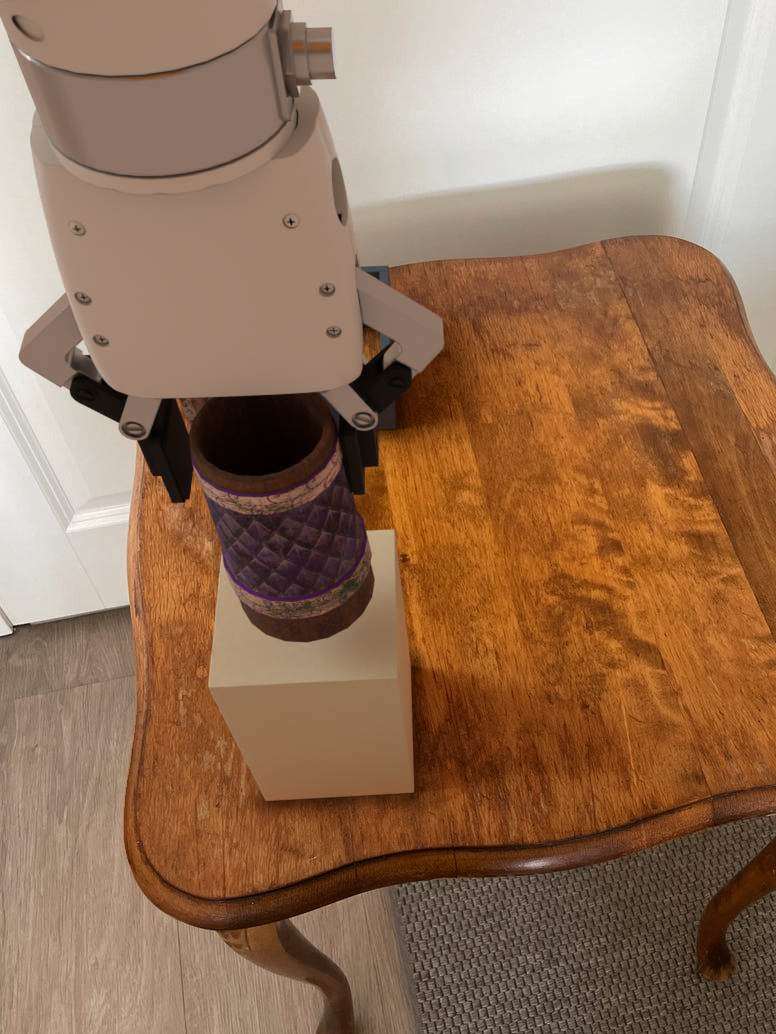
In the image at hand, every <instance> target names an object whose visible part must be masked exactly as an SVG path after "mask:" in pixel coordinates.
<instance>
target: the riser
mask: <svg viewBox="0 0 776 1034" xmlns="http://www.w3.org/2000/svg"><path fill="white" fill-rule="evenodd" d="M366 532H367V536H368V541H369V545H370V549H371V553H372V557H371V566H372V570H373V574H374V578H375V583H374V589H373V596H372V599H371V600H370V602H369V604H368V606H367V608H366V609H365V611H364V613H363V614H362V615H361V616H360V617H359V618H358V619H357V620H356V621H355V622H354V623H353V624H352V625H351V626H349V627H348V628H347V629H345V630H343V631H341V632H339V633H337V634H335V635H333V636H331V637H329V638H326V639H321V640H316V641H312V642H307V643H306V642H286V641H283V640H280V639H277V638H274V637H271V636H268V635H266V634H264V633H263V632H262V631H261V630H259V629H258V628H257V627H255V626H254V625H253V624H252V623H251V622H250V620H249V619H248V617H247V615H246V614H245V612H244V610H243V609H242V606H241V603H240V600H239V598H238V596H237V594H236V593H235V591H234V589H233V588H232V586H231V584H230V582H229V579H228V576H227V573H226V570H225V567H224V563H223V556H222V554H220V555H221V556H220V566H219V577H218V584H217V585H218V587H217V596H216V604H215V605H216V606H215V614H214V615H215V617H214V626H213V635H212V645H211V655H210V664H209V665H210V666H209V675H208V685H207V688H208V690H209V692H210V694H211V696H212V698H213V700H214V702H215V704H216V706H217V707H218V710H219V711H220V714H221V716H222V717H223V719H224V721H225V723H226V725H227V728H228V730H229V731H230V733H231V735H232V737H233V739H234V741H235V743H236V745H237V747H238V749H239V752H240V753H241V755H242V757H243V759H244V761H245V763H246V765H247V767H248V769H249V771H250V773H251V774H252V777H253V779H254V780H255V782H256V785H257V787H258V788H259V790H260V792H261V795H262V796H263V798H264V800H265V801H266V802H273V801H291V800H306V799H307V800H309V799H325V798H344V797H360V796H361V797H362V796H379V795H396V794H397V795H398V794H412V793H414V792H415V773H414V770H415V769H414V740H413V739H414V737H413V736H414V734H413V708H412V707H413V703H412V702H413V701H412V699H413V698H412V697H413V696H412V665H411V655H410V648H409V639H408V631H407V629H408V628H407V623H406V614H405V604H404V596H403V587H402V579H401V569H400V561H399V552H398V543H397V535H396V530H395V529H394V528H393V529H376V530H375V529H374V530H366Z"/></svg>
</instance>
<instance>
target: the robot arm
mask: <svg viewBox="0 0 776 1034" xmlns="http://www.w3.org/2000/svg"><path fill="white" fill-rule="evenodd" d="M0 20H1V22H2V25H3V27H4V30H5V31H6V34H7V37H8V40H9V43H10V45H11V48H12V50H13V54H14V57H15V59H16V61H17V64H18V66H19V68H20V69H19V70H20V71H21V74H22V76H23V79H24V81H25V84H26V86H27V89H28V91H29V93H30V96H31V99H32V102H33V103H34V107H35V110H34V112H33V116H32V122H31V123H32V124H31V125H32V126H31V130H30V135H29V143H30V151H31V157H32V163H33V167H34V168H33V169H34V173H35V178H36V184H37V188H38V189H37V190H38V193H39V198H40V203H41V206H42V210H43V215H44V218H45V223H46V227H47V231H48V235H49V239H50V243H51V246H52V250H53V254H54V258H55V261H56V265H57V268H58V271H59V272H58V273H59V275H60V278H61V281H62V285H63V287H64V291H65V292H64V293H63V294H62V295H61V296H60V297H59V298H58V299H57V300H56V301H55V302H54V303H53V304H52V305H51V306H50V307H49V308H48V309H47V310H46V311H44V312H43V313H42V315H41V316H40V317H39V318H38V319H37V320H36V321H34V322H33V324H31V325H30V326H29V328H27V329H26V330H25V332H24V334H23V338H22V341H21V345H20V349H19V353H18V360H19V361H20V363H21V364H22V365H23V366H25V367H26V368H27V369H29V370H31V371H32V372H34V373H36V374H38V375H39V376H41V378H44V379H46V380H47V381H49V382H51V383H52V384H54V385H55V386H56V387H59V388H62V387H64V389H67V390H69V395H70V396H71V398H72V399H73V400H74V401H75V402H76V403H78V404H80V405H82V406H84V407H85V408H88V409H89V410H92V411H95V412H96V413H98V414H100V415H102V416H104V417H105V418H108V419H110V420H112V421H114V422H116V423H118V428H117V429H118V431H119V433H120V434H121V435H122V436H123V437H125V438H126V439H129V440H131V441H137V444H138V446H139V448H140V451H141V453H142V455H143V457H144V460H145V462H146V464H147V467H148V469H149V472H150V473H151V475H152V477H161V480H162V483H163V485H164V487H165V490H166V493H167V494H168V496H169V498H170V501H171V503H172V504H185V503H186V502H187V500H190V499H191V493H192V485H193V476H194V468H193V465H192V459H191V451H190V441H189V431H188V429H187V426H186V422H185V420H184V418H183V415H182V412H181V410H180V407H179V404H178V401H177V399H179V398H199V397H227V396H251V395H273V394H292V393H308V392H319V393H320V394H321V395H322V396H323V397H324V398H325V399H326V400H327V401H328V402H329V403H330V404H331V405H332V406H333V407H334V408H335V410H336V411H337V412H338V413H339V439H340V445H341V451H342V456H343V463H344V468H345V474H346V478H347V481H348V485H349V489H350V492H353V496H364V495H366V468H379V466H380V455H379V454H380V453H379V449H380V448H379V437H378V430H377V429H376V425H377V424H378V415H379V414H380V413H381V412H382V411H384V410H385V409H386V408H387V407H388V406H389V405H391V404H392V403H393V402H394V401H395V402H396V401H397V400H398V399H399V398H400V397H402V396H403V395H405V393H407V391H409V390H410V389H411V388H412V385H413V379H414V378H415V377H416V376H417V375H418V374H421V373H422V372H423V371H424V370H425V369H426V368H427V367H428V366H429V365H430V364H431V362H432V361H434V360H435V358H436V357H437V356H438V355H439V354H440V353H441V352H442V351H443V349H444V348H445V331H444V321H443V319H442V317H441V316H440V315H438V314H437V313H436V312H433V311H431V309H428V308H427V307H425V306H423V304H420V303H419V302H417V301H415V300H413V299H412V298H411V297H408V296H406V295H405V294H403V293H402V292H400V291H398V290H397V289H395V288H393V287H392V286H391V285H390V286H388V285H386V284H385V283H383V282H381V281H380V280H378V279H376V278H375V277H373V276H371V275H370V274H368V273H366V272H365V271H363V270H361V261H360V256H359V250H358V243H357V238H356V233H355V227H354V223H353V222H354V221H353V217H352V210H351V208H350V207H351V206H350V202H349V197H348V193H347V192H348V191H347V188H346V184H345V180H344V175H343V171H342V167H341V163H340V159H339V156H338V152H337V149H336V145H335V142H334V138H333V135H332V132H331V131H332V130H331V129H330V126H329V123H328V120H327V116H326V114H325V111H324V109H323V106H322V103H321V101H320V98H319V95H318V94H317V92H316V91H315V89H313V87H311V86H313V84H314V81H317V80H337V79H338V65H337V53H336V52H337V51H336V43H335V36H334V34H335V33H334V29H333V27H332V26H327V27H326V26H324V27H321V26H319V27H309V26H308V23H307V22H306V21H302V22H301V21H298V22H297V21H296V22H294V21H295V20H294V17H293V13H292V9H284V3H283V0H0ZM362 323H364V324H365V325H367V327H369V328H371V329H372V330H373V331H376V332H378V333H381V334H383V335H385V336H387V337H389V338H390V339H392V340H394V343H392V344H389V345H387V346H386V347H385V348H383V349H382V350H379V352H378V353H377V354H376V355H374V356H373V357H372V358H371V359H370V360H369V359H368V358H367V357H366V356H365V355H364V354H363V353H364V331H363V328H364V327H362ZM81 342H84V345H85V348H86V350H87V351H88V354H84V353H83V351H84V350H82V349H80V348H79V347H77V346H78V345H79V344H81Z"/></svg>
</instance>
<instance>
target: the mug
mask: <svg viewBox="0 0 776 1034" xmlns="http://www.w3.org/2000/svg"><path fill="white" fill-rule="evenodd" d="M178 400H179V402H180V405H181V407H182V409H183V412H184V414H185V416H186V419H187V421H188V423H189V424H188V425H189V426H190V429H189V431H188V434H189V441H190V451H191V459H192V465H193V468H194V469H193V472H194V474H195V477H196V480H197V483H198V484H199V486H200V487H201V490H202V493H203V496H204V498H205V501H206V504H207V507H208V510H209V513H210V517H211V519H212V523H213V525H214V529H215V531H216V534H217V537H218V540H219V544H220V546H221V555H222V556H223V563H224V567H225V570H226V573H227V576H228V579H229V582H230V584H231V586H232V588H233V589H234V591H235V593H236V594H237V596H238V598H239V600H240V603H241V606H242V609H243V610H244V612H245V614H246V615H247V617H248V619H249V620H250V622H251V623H252V624H253V625H254V626H255V627H257V628H258V629H259V630H261V631H262V632H263V633H264V634H266V635H268V636H271V637H274V638H277V639H280V640H283V641H286V642H306V643H307V642H312V641H316V640H321V639H326V638H329V637H331V636H333V635H335V634H337V633H339V632H341V631H343V630H345V629H347V628H348V627H349V626H351V625H352V624H353V623H354V622H355V621H356V620H357V619H358V618H359V617H360V616H361V615H362V614H363V613H364V611H365V609H366V608H367V606H368V604H369V602H370V600H371V599H372V596H373V589H374V583H375V578H374V574H373V570H372V566H371V557H372V553H371V549H370V545H369V541H368V536H367V532H366V531H367V529H366V525H365V520H364V518H363V516H362V515H361V514H360V512H359V511H358V508H357V503H356V500H355V497H354V496H355V495H353V492H350V489H349V485H348V481H347V478H346V474H345V468H344V463H343V456H342V451H341V445H340V439H339V432H338V428H337V424H336V421H335V418H334V417H333V416H332V414H331V412H330V409H329V407H328V405H327V404H326V403H325V401H324V400H323V399H322V397H321V396H320V395H319V394H318V393H316V392H308V393H292V394H273V395H251V396H227V397H199V398H178Z"/></svg>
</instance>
